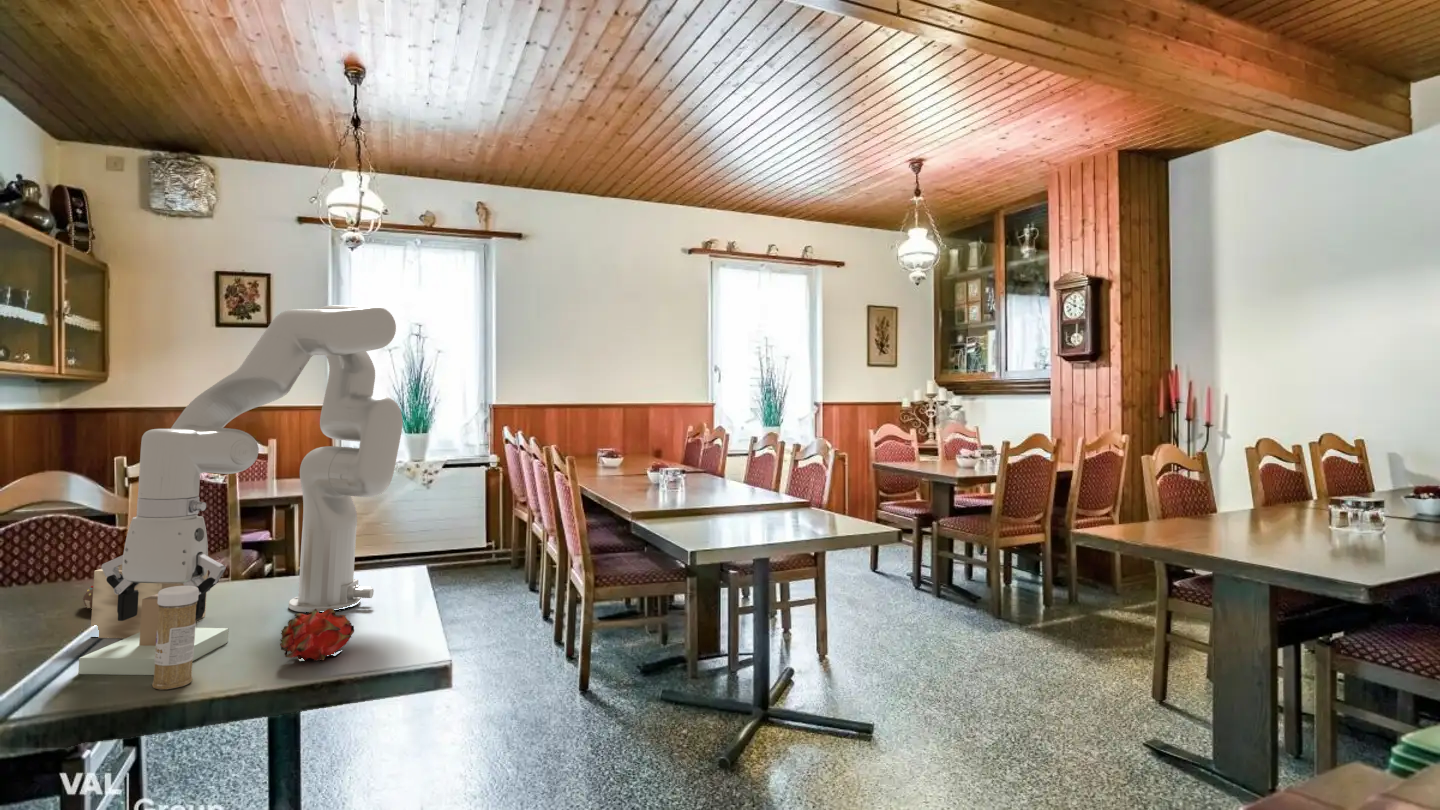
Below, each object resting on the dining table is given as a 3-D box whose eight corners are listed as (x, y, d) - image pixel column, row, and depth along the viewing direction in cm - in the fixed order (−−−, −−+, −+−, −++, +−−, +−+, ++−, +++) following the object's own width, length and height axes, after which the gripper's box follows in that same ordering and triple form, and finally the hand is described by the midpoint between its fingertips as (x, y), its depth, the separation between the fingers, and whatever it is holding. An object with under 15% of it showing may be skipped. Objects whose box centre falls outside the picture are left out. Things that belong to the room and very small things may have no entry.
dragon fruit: (268, 679, 107) (344, 668, 117) (300, 654, 104) (375, 646, 114) (261, 625, 111) (335, 620, 121) (292, 600, 108) (365, 597, 118)
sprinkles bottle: (148, 684, 99) (154, 587, 99) (188, 676, 103) (193, 583, 103) (156, 693, 96) (162, 594, 96) (197, 685, 100) (203, 589, 100)
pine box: (205, 616, 130) (208, 556, 131) (155, 639, 117) (159, 572, 118) (147, 615, 130) (151, 555, 130) (90, 637, 116) (94, 570, 117)
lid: (228, 642, 118) (231, 585, 118) (166, 675, 103) (170, 610, 103) (151, 640, 116) (155, 584, 117) (78, 673, 102) (82, 608, 102)
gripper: (240, 507, 115) (234, 613, 114) (126, 503, 113) (119, 611, 113) (212, 513, 107) (205, 627, 107) (88, 509, 105) (81, 625, 105)
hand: (161, 619), depth 110 cm, fingers open, 9 cm apart
